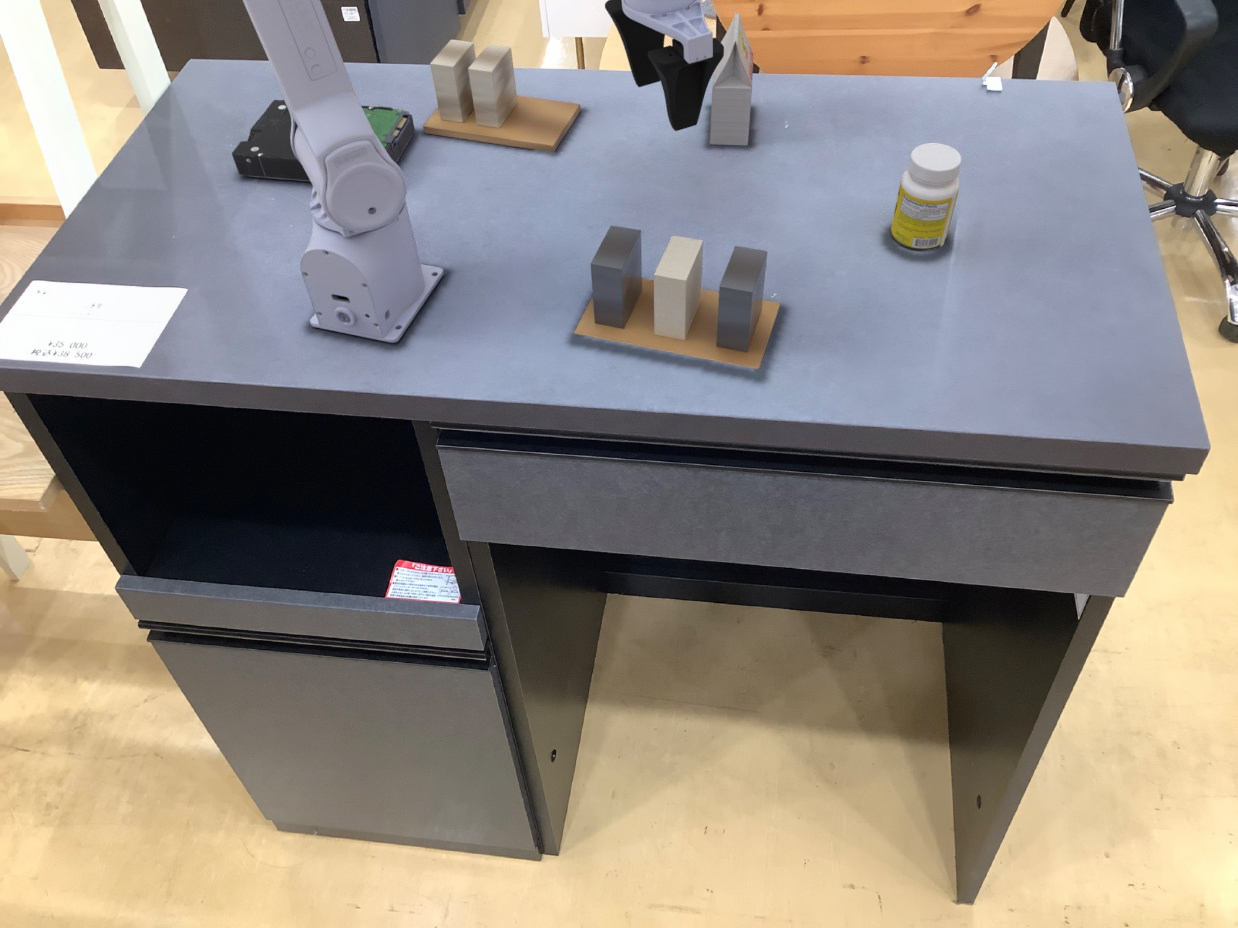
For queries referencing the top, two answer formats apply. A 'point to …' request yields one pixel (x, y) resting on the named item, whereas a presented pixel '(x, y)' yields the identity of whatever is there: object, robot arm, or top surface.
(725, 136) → the gable top juice carton
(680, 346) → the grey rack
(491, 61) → the cream rack
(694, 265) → the beige block
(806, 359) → the top surface
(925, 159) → the supplement bottle
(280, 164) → the disk drive
